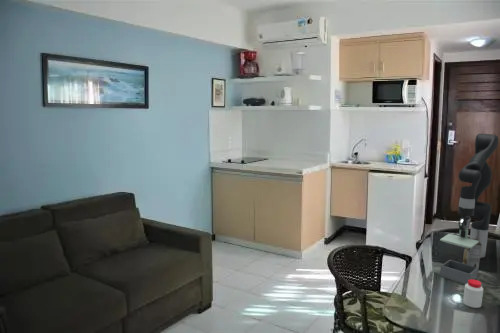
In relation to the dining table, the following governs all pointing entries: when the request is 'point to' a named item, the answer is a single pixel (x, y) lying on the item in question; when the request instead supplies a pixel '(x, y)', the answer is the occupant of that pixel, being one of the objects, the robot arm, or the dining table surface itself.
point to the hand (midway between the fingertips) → (463, 236)
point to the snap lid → (459, 240)
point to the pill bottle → (473, 294)
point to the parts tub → (458, 271)
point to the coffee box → (472, 255)
